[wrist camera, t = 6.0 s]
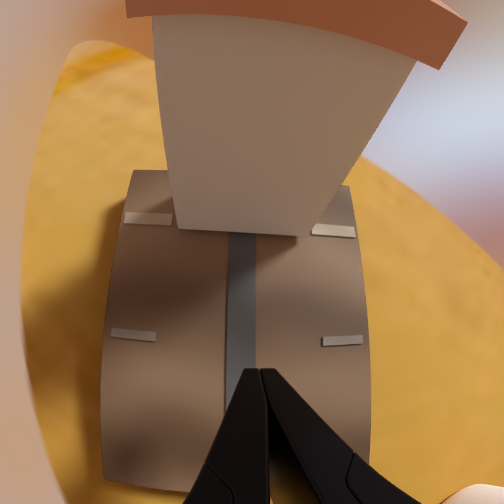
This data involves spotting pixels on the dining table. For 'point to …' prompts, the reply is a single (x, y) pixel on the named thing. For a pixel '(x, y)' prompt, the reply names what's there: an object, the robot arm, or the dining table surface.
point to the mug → (478, 495)
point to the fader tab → (279, 99)
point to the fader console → (224, 332)
